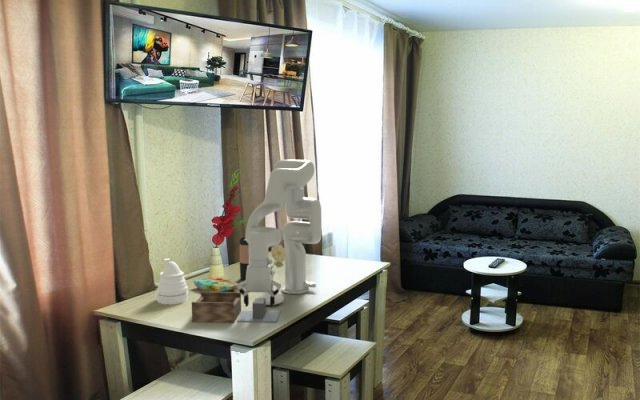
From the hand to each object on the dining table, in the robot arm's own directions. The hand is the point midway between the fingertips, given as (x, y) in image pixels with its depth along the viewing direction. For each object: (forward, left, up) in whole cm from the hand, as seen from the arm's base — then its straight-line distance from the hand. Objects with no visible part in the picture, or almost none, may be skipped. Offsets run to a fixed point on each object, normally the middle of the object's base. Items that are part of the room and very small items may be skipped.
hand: (259, 305), depth 219 cm
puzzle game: (+25, -36, -5) cm, 44 cm away
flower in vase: (-2, -18, -5) cm, 19 cm away
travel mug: (+15, -55, -5) cm, 57 cm away
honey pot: (+41, -20, -5) cm, 45 cm away
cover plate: (0, 0, -5) cm, 5 cm away
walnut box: (+17, 0, -4) cm, 17 cm away
